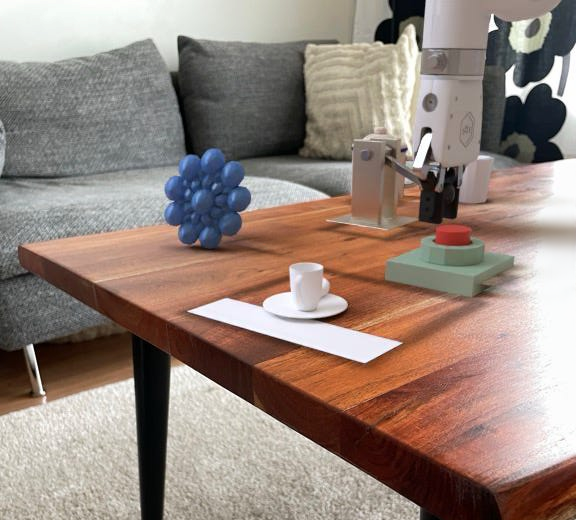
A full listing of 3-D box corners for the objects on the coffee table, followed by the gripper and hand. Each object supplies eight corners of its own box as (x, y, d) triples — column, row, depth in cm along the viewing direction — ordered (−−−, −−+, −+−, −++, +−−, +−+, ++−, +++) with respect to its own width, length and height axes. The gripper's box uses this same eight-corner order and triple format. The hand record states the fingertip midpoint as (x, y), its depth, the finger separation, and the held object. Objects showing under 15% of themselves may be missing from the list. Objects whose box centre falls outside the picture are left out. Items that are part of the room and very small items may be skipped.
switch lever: (452, 209, 94) (463, 187, 92) (440, 213, 92) (452, 190, 90) (370, 158, 99) (379, 136, 97) (358, 160, 97) (366, 138, 95)
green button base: (512, 275, 78) (517, 239, 76) (471, 297, 71) (476, 258, 69) (429, 261, 84) (432, 227, 82) (384, 280, 77) (386, 243, 75)
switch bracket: (420, 227, 101) (427, 138, 96) (387, 238, 94) (392, 144, 90) (361, 218, 107) (364, 134, 102) (325, 228, 100) (327, 139, 95)
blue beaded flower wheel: (264, 244, 92) (263, 146, 87) (244, 257, 86) (241, 152, 81) (182, 237, 95) (177, 142, 90) (157, 249, 89) (150, 148, 84)
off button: (475, 244, 76) (477, 227, 75) (460, 250, 74) (461, 233, 73) (444, 239, 78) (446, 223, 77) (428, 245, 76) (430, 228, 75)
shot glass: (444, 196, 123) (448, 154, 120) (485, 196, 123) (489, 154, 120) (451, 204, 117) (455, 159, 114) (493, 204, 117) (499, 159, 114)
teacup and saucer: (303, 289, 73) (303, 250, 72) (368, 304, 69) (370, 263, 67) (245, 311, 67) (244, 268, 66) (312, 329, 63) (313, 284, 61)
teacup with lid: (345, 205, 116) (347, 129, 111) (353, 196, 124) (356, 124, 119) (420, 208, 113) (426, 130, 108) (424, 198, 121) (430, 125, 116)
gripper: (448, 67, 78) (432, 235, 86) (509, 67, 90) (491, 214, 98) (389, 66, 83) (379, 226, 90) (455, 66, 94) (441, 207, 102)
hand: (437, 218), depth 94 cm, fingers closed on switch lever, 3 cm apart
